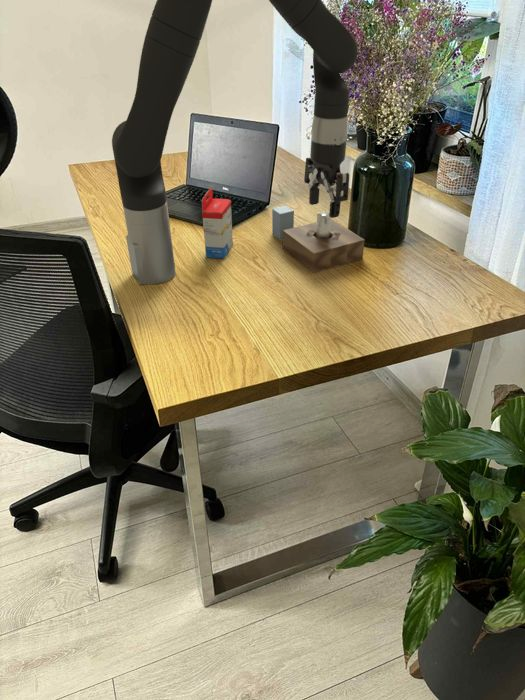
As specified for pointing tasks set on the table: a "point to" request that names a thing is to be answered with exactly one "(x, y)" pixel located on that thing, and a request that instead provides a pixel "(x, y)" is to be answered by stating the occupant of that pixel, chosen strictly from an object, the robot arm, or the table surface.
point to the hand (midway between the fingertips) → (323, 210)
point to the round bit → (323, 225)
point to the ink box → (217, 225)
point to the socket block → (323, 246)
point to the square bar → (282, 220)
